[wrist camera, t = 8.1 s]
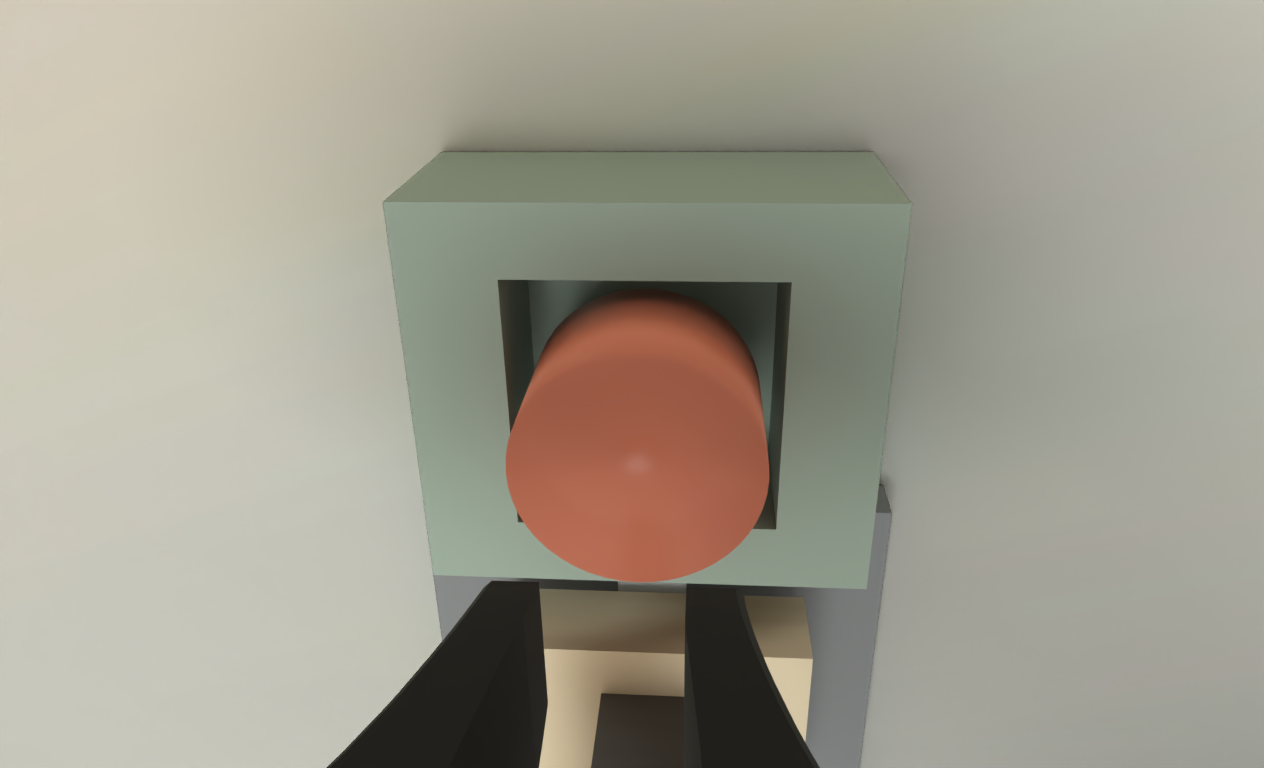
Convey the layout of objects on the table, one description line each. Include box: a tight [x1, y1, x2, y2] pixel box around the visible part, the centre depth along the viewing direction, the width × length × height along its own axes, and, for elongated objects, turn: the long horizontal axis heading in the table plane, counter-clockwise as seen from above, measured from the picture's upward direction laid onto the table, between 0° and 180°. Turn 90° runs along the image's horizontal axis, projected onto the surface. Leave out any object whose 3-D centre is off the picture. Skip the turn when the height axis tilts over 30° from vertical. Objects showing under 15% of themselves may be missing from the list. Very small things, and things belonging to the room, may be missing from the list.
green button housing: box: [383, 152, 912, 589], centre depth 19 cm, size 9×8×4 cm
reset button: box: [506, 289, 769, 582], centre depth 17 cm, size 4×4×3 cm
